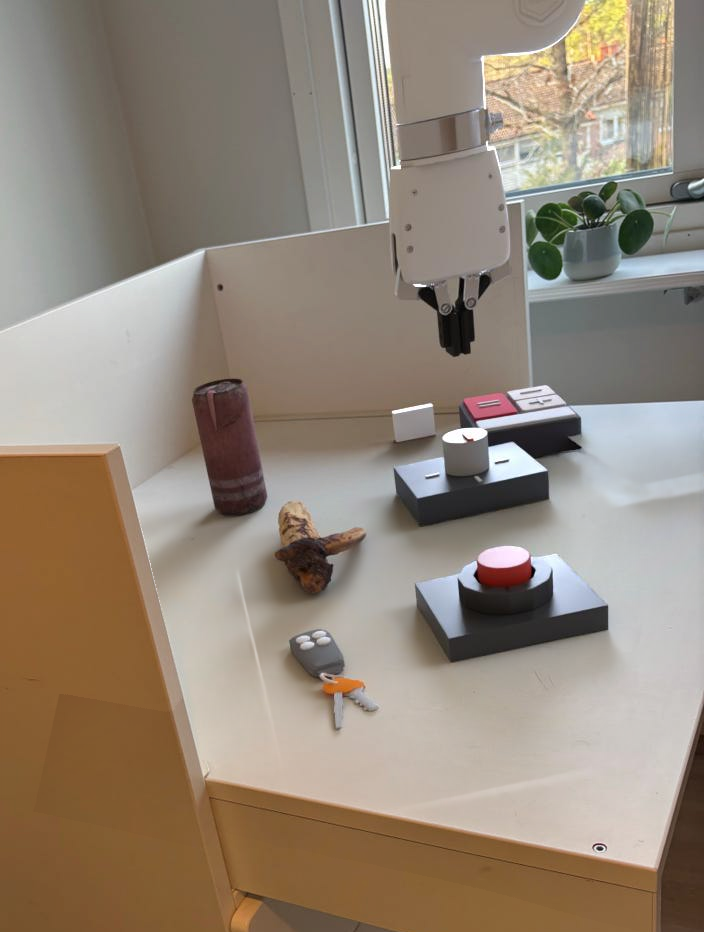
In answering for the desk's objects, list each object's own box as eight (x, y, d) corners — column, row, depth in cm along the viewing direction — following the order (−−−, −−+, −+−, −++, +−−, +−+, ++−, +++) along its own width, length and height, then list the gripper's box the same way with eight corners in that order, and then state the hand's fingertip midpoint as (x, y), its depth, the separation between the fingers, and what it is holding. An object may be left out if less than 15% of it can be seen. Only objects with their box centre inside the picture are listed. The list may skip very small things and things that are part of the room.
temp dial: (440, 466, 100) (436, 431, 98) (481, 457, 100) (479, 421, 98) (452, 479, 96) (449, 443, 94) (495, 470, 96) (493, 433, 94)
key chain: (285, 651, 79) (282, 635, 78) (328, 638, 79) (325, 622, 78) (337, 732, 67) (334, 715, 67) (386, 717, 68) (384, 699, 67)
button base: (557, 576, 81) (555, 533, 79) (608, 630, 72) (608, 583, 70) (416, 606, 81) (412, 563, 79) (451, 663, 72) (446, 617, 70)
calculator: (550, 381, 115) (581, 410, 102) (551, 416, 117) (583, 449, 104) (457, 397, 117) (476, 427, 104) (460, 431, 119) (479, 465, 105)
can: (211, 520, 107) (185, 398, 101) (219, 499, 113) (195, 381, 106) (265, 513, 106) (241, 388, 99) (270, 492, 111) (248, 373, 105)
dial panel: (514, 468, 103) (513, 440, 102) (549, 499, 95) (548, 468, 93) (396, 493, 104) (392, 465, 102) (420, 526, 95) (417, 497, 93)
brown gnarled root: (386, 591, 85) (354, 514, 101) (383, 543, 83) (350, 472, 98) (283, 608, 86) (266, 528, 101) (276, 560, 83) (260, 487, 99)
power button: (520, 561, 76) (519, 541, 76) (539, 582, 73) (538, 561, 72) (471, 572, 76) (469, 552, 76) (487, 593, 73) (486, 572, 72)
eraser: (436, 434, 118) (433, 405, 116) (396, 442, 118) (393, 413, 116) (433, 431, 119) (430, 403, 117) (394, 439, 119) (391, 411, 118)
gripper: (512, 122, 86) (521, 329, 95) (349, 157, 87) (372, 360, 95) (543, 121, 80) (549, 344, 88) (366, 159, 80) (389, 377, 89)
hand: (457, 352), depth 92 cm, fingers closed
